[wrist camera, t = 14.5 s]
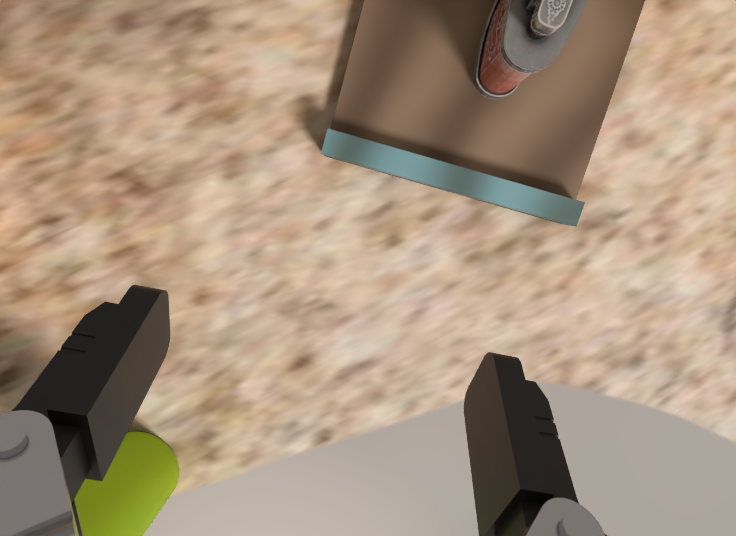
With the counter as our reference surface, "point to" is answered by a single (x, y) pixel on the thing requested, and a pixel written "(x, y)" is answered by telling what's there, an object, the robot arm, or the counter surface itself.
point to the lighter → (522, 41)
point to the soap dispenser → (129, 488)
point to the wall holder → (477, 104)
